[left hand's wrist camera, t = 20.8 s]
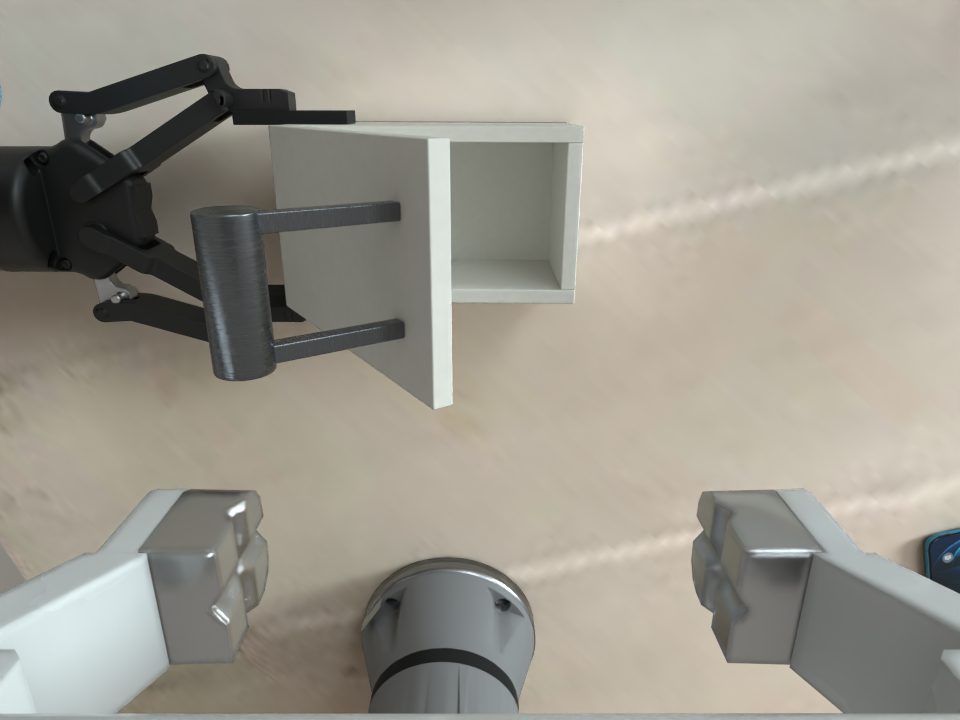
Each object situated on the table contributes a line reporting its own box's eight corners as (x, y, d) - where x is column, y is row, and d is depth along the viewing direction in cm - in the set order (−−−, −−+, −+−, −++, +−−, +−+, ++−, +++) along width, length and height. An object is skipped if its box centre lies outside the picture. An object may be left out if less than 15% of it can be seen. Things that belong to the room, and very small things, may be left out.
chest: (565, 122, 46) (584, 126, 37) (558, 269, 49) (574, 304, 40) (317, 121, 46) (278, 124, 37) (328, 267, 49) (295, 302, 41)
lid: (450, 138, 23) (198, 144, 19) (453, 405, 27) (241, 461, 22) (284, 125, 37) (116, 126, 32) (301, 303, 40) (151, 326, 36)
